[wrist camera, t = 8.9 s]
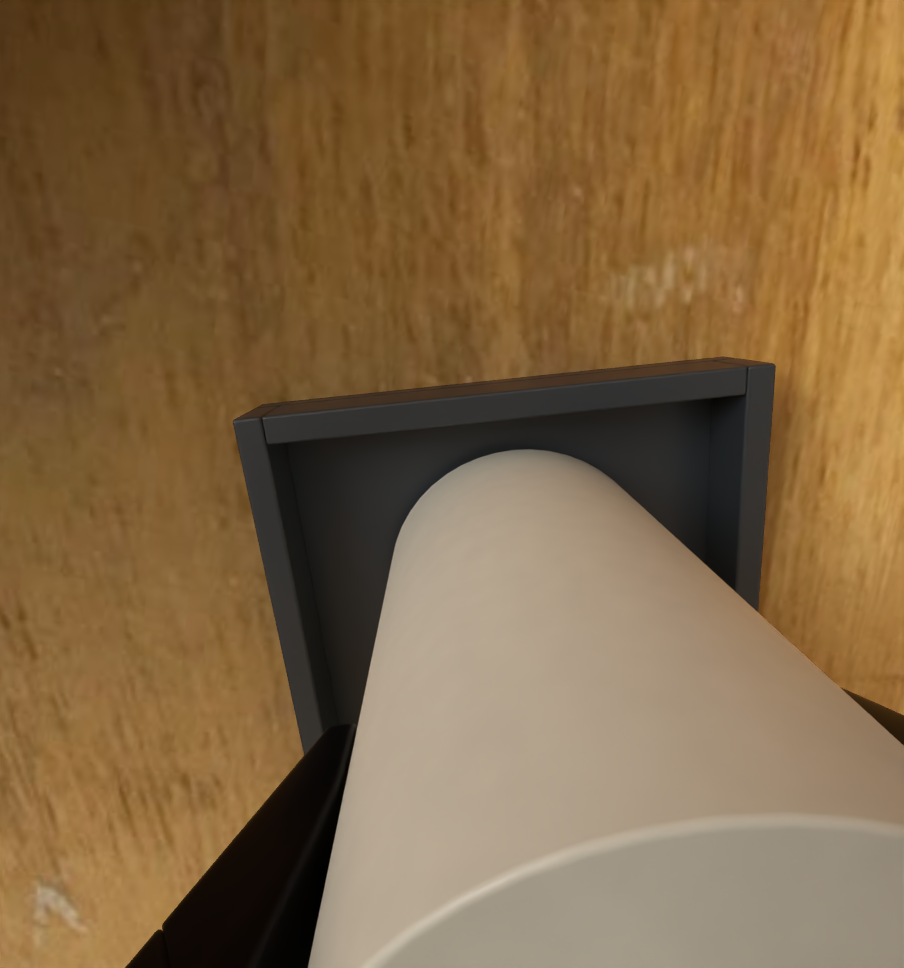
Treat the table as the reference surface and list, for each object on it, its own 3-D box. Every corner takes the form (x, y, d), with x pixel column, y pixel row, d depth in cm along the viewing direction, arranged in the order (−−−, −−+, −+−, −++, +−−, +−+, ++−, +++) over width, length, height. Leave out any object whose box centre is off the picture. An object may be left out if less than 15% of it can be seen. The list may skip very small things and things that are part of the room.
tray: (724, 356, 13) (777, 363, 11) (689, 1142, 22) (715, 1223, 20) (260, 404, 13) (231, 419, 11) (413, 1177, 22) (412, 1262, 20)
